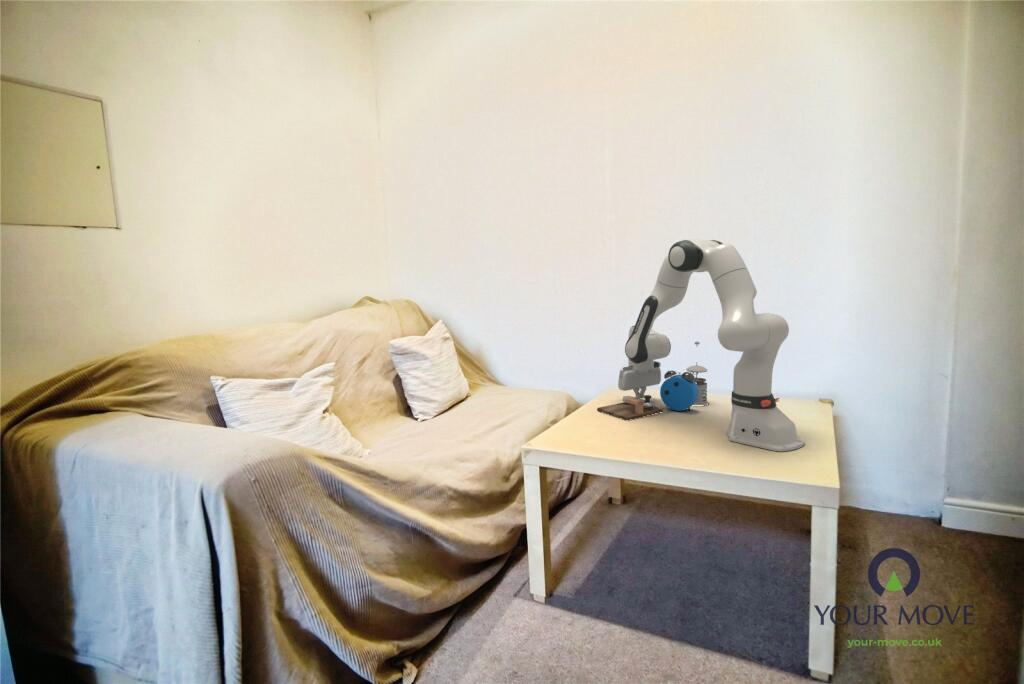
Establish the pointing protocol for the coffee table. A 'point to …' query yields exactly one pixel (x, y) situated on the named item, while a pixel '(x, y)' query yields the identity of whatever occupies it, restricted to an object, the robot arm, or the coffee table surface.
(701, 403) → the french press
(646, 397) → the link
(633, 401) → the keeper
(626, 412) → the pivot board
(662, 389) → the alarm clock
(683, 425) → the coffee table surface
